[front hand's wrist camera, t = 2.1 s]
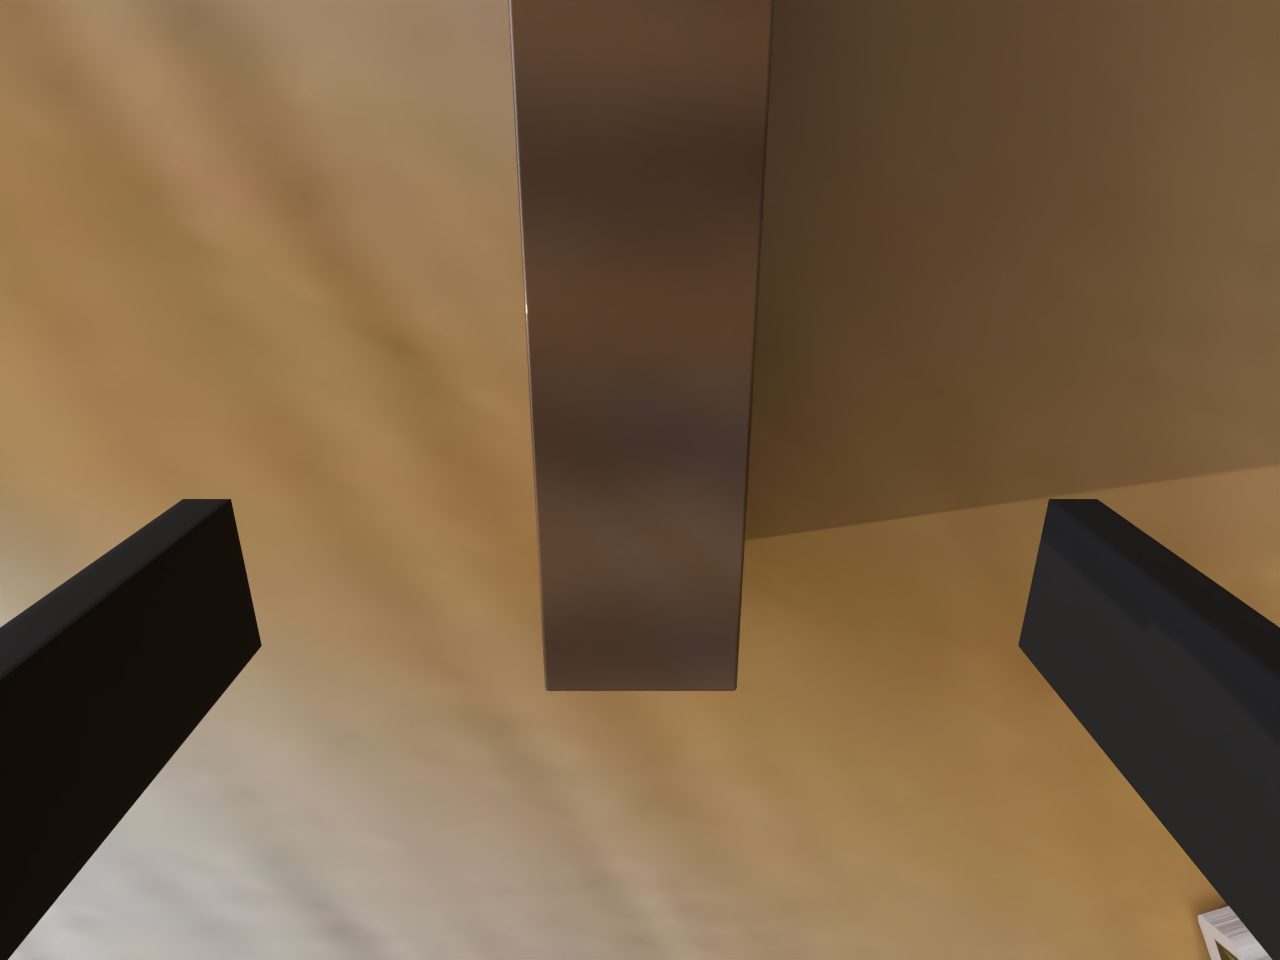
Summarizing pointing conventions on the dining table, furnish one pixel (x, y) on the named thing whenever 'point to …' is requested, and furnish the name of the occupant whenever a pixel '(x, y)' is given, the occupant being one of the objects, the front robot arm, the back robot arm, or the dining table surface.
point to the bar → (641, 326)
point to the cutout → (1229, 937)
